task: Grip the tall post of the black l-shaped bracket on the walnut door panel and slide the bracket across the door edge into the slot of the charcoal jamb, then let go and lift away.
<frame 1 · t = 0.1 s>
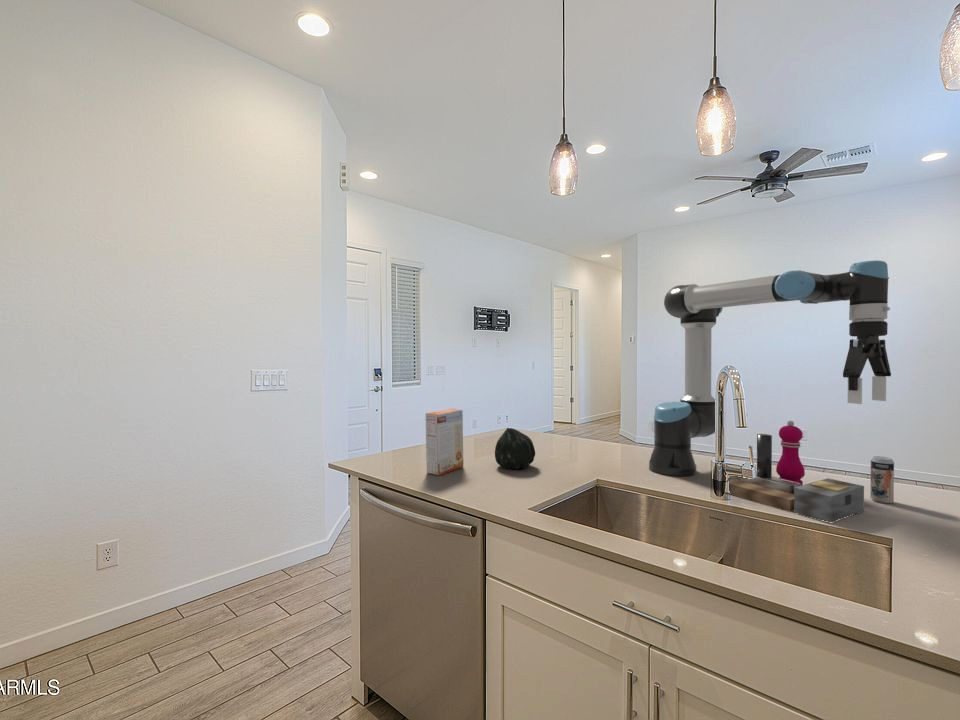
hand: (867, 402, 115), 28 cm above the worktop, tool pointing down, fingers open, 13 cm apart
pepper mill: (790, 485, 135), on the worktop
door and jamb: (798, 503, 119), on the worktop
cracker box: (445, 470, 154), on the worktop
squash: (515, 467, 158), on the worktop
beer can: (881, 502, 120), on the worktop
black l-shaped bracket: (775, 461, 124), point 10 cm above the worktop, slide at 0.0 cm
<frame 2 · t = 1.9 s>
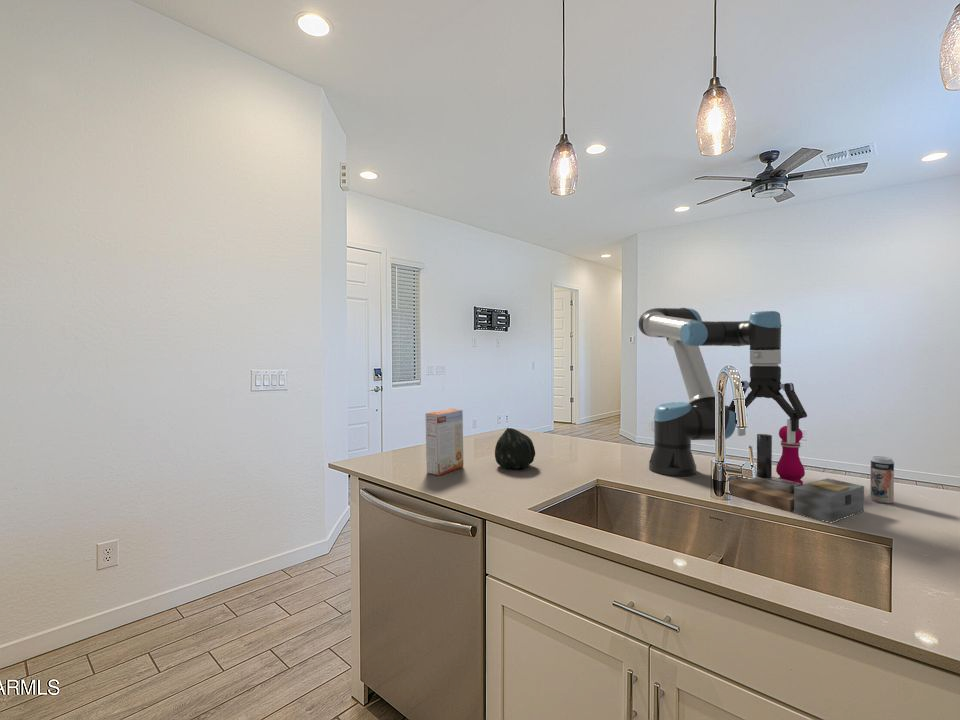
hand: (765, 439, 126), 16 cm above the worktop, tool pointing down, fingers open, 13 cm apart
nothing on the worktop moved.
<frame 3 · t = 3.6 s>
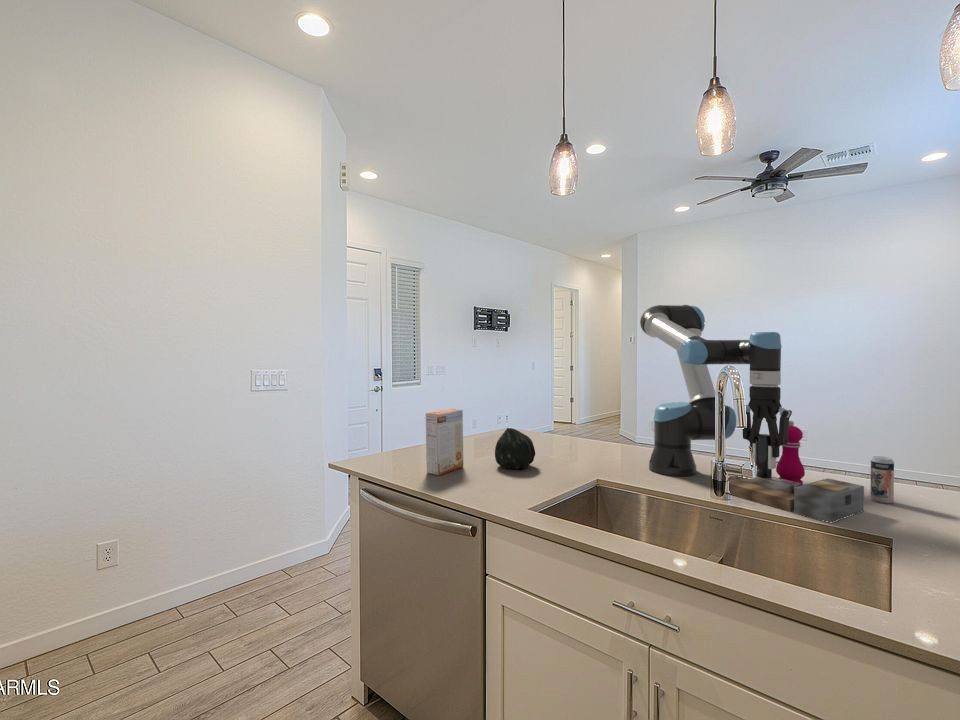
hand: (764, 466, 126), 8 cm above the worktop, tool pointing down, fingers closed on black l-shaped bracket, 4 cm apart
black l-shaped bracket: (775, 461, 124), point 10 cm above the worktop, slide at 0.0 cm, touching gripper
everything else where it was.
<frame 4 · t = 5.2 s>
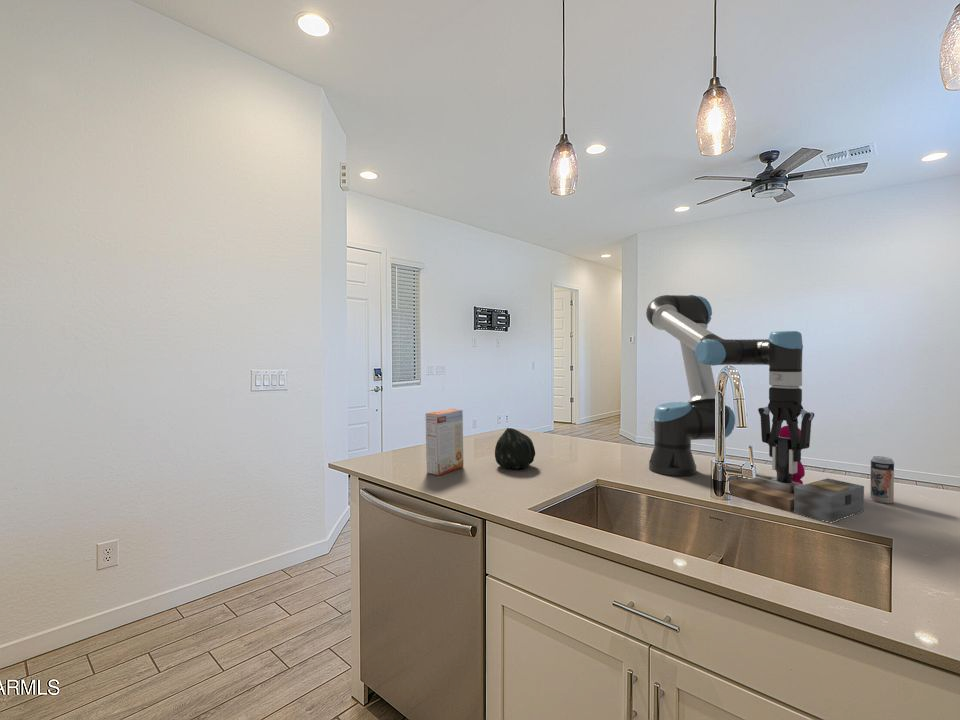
hand: (784, 470, 122), 8 cm above the worktop, tool pointing down, fingers closed on black l-shaped bracket, 4 cm apart
black l-shaped bracket: (796, 465, 119), point 10 cm above the worktop, slide at 5.4 cm, touching gripper
everything else where it was.
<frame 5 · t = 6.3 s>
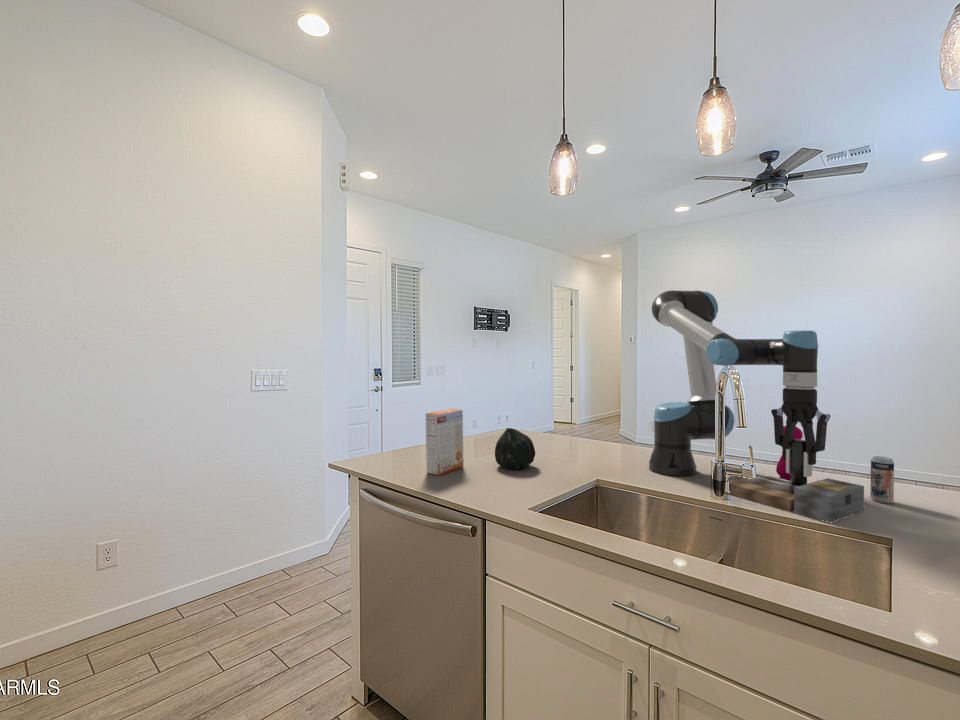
hand: (798, 474, 119), 8 cm above the worktop, tool pointing down, fingers closed on black l-shaped bracket, 4 cm apart
black l-shaped bracket: (811, 468, 116), point 10 cm above the worktop, slide at 9.0 cm, touching gripper
everything else where it was.
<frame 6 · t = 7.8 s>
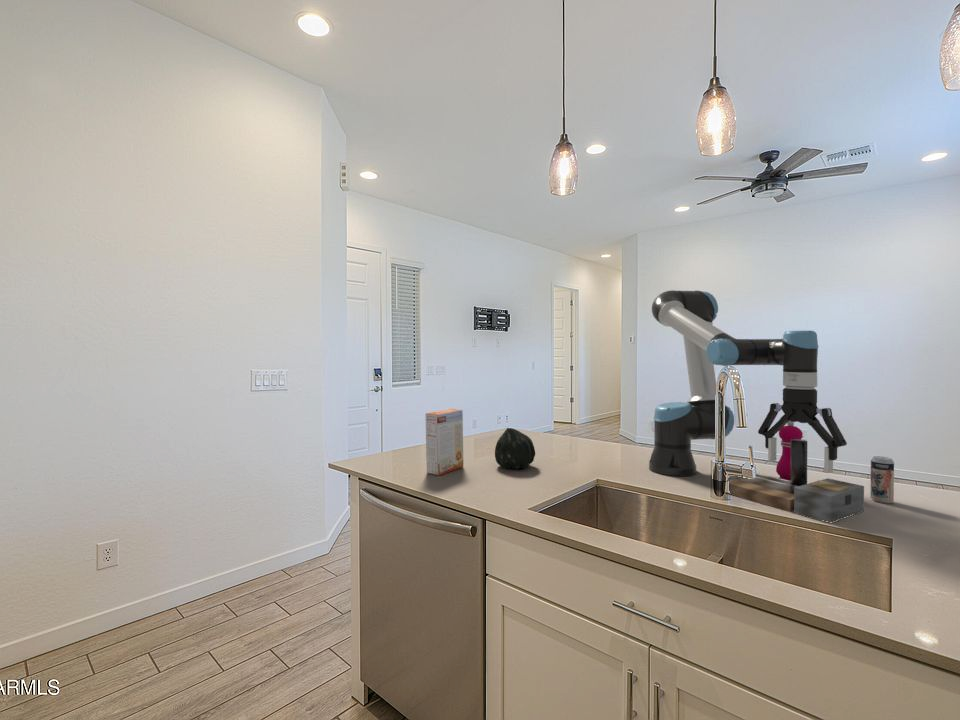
hand: (799, 466, 119), 10 cm above the worktop, tool pointing down, fingers open, 13 cm apart
black l-shaped bracket: (811, 468, 116), point 10 cm above the worktop, slide at 9.0 cm
everything else where it was.
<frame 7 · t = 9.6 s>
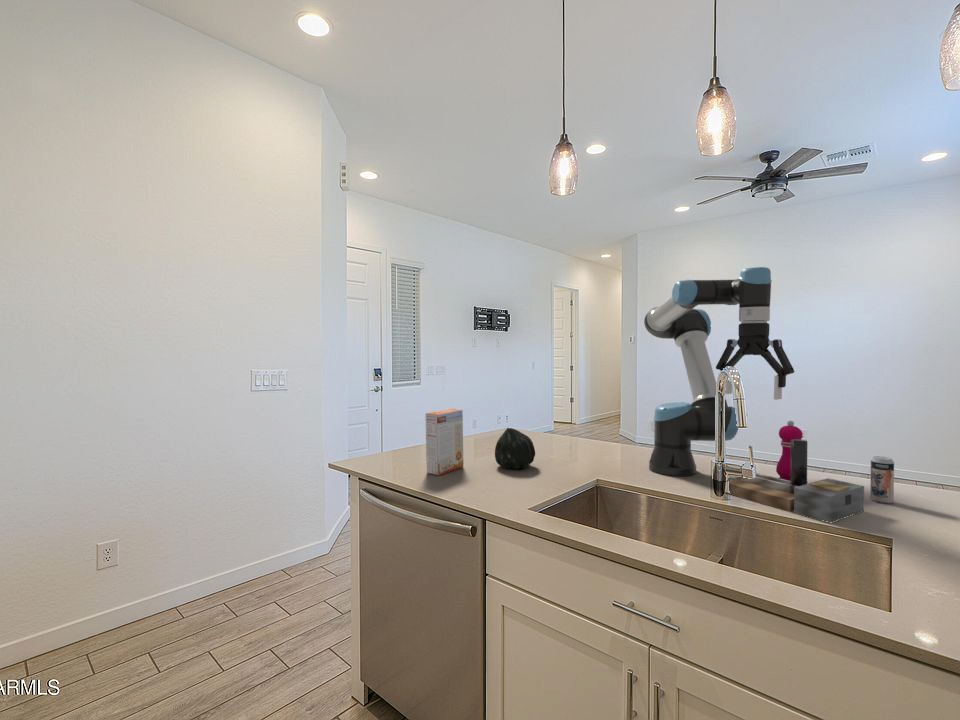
hand: (751, 396, 127), 28 cm above the worktop, tool pointing down, fingers open, 13 cm apart
nothing on the worktop moved.
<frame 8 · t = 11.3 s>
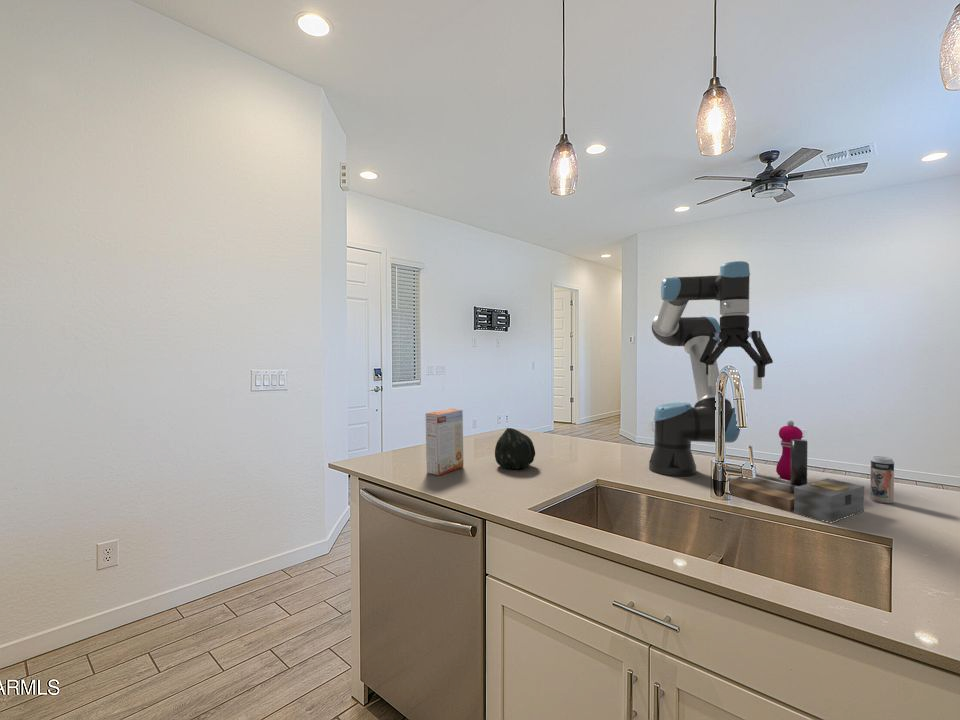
hand: (733, 387, 129), 31 cm above the worktop, tool pointing down, fingers open, 13 cm apart
nothing on the worktop moved.
at the end: black l-shaped bracket slide at 9.0 cm; the gripper is holding nothing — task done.
